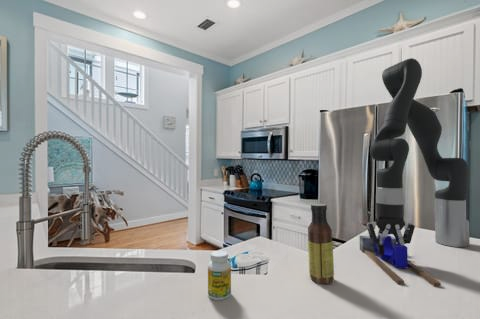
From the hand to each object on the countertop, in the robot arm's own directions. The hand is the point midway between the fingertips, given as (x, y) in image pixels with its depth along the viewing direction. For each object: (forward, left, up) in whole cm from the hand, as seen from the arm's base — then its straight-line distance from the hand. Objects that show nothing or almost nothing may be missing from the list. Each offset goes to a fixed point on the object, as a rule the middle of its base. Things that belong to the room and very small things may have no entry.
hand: (390, 255), depth 78 cm
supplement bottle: (+49, +27, -2) cm, 56 cm away
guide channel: (0, +3, -2) cm, 3 cm away
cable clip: (0, 0, -1) cm, 1 cm away
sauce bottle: (+24, +16, -2) cm, 29 cm away
